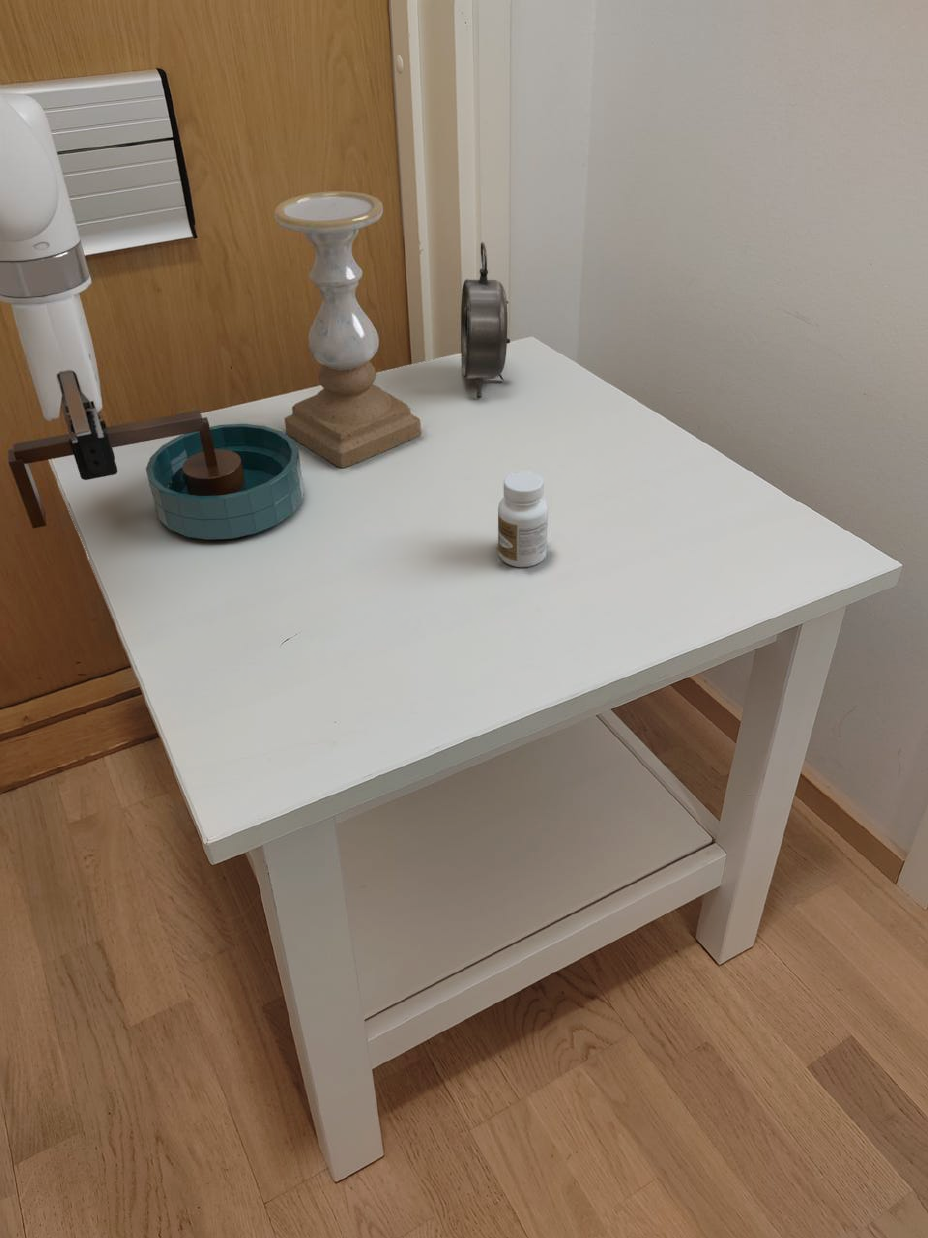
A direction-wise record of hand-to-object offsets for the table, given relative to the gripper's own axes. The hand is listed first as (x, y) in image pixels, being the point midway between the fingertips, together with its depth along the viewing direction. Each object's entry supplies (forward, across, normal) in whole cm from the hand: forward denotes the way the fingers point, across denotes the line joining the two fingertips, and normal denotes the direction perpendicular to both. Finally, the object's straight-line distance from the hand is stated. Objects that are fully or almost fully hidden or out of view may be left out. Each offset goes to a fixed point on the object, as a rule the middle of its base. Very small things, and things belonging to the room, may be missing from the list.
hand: (98, 468), depth 88 cm
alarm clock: (+6, -14, +44) cm, 47 cm away
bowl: (+6, +1, +11) cm, 13 cm away
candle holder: (+6, -8, +26) cm, 28 cm away
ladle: (+4, 0, +3) cm, 5 cm away
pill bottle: (+6, +20, +34) cm, 40 cm away
